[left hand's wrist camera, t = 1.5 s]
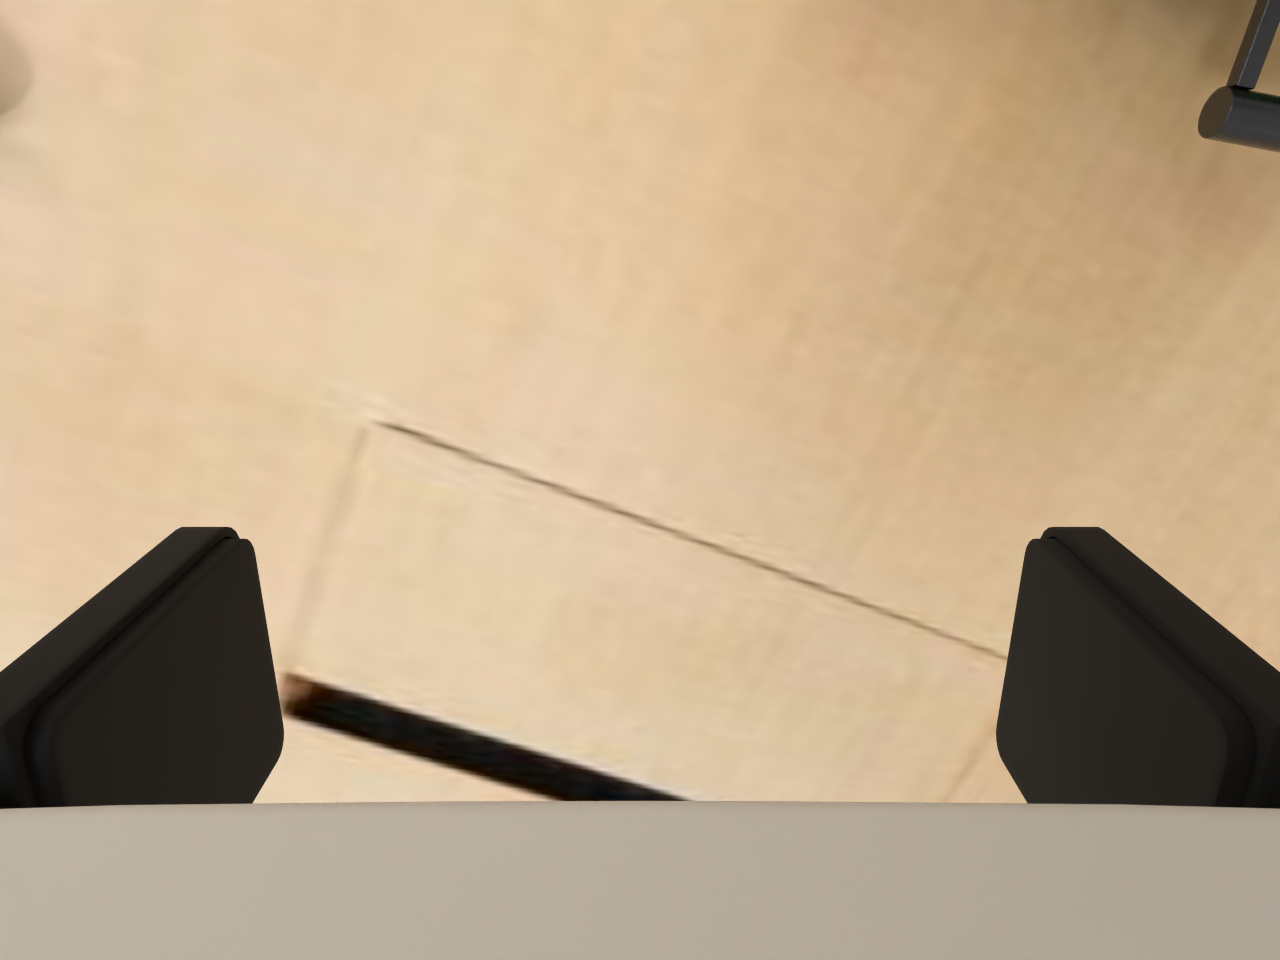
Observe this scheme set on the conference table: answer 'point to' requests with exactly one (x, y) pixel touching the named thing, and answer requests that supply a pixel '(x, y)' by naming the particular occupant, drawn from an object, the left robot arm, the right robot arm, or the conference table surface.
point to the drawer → (1247, 90)
